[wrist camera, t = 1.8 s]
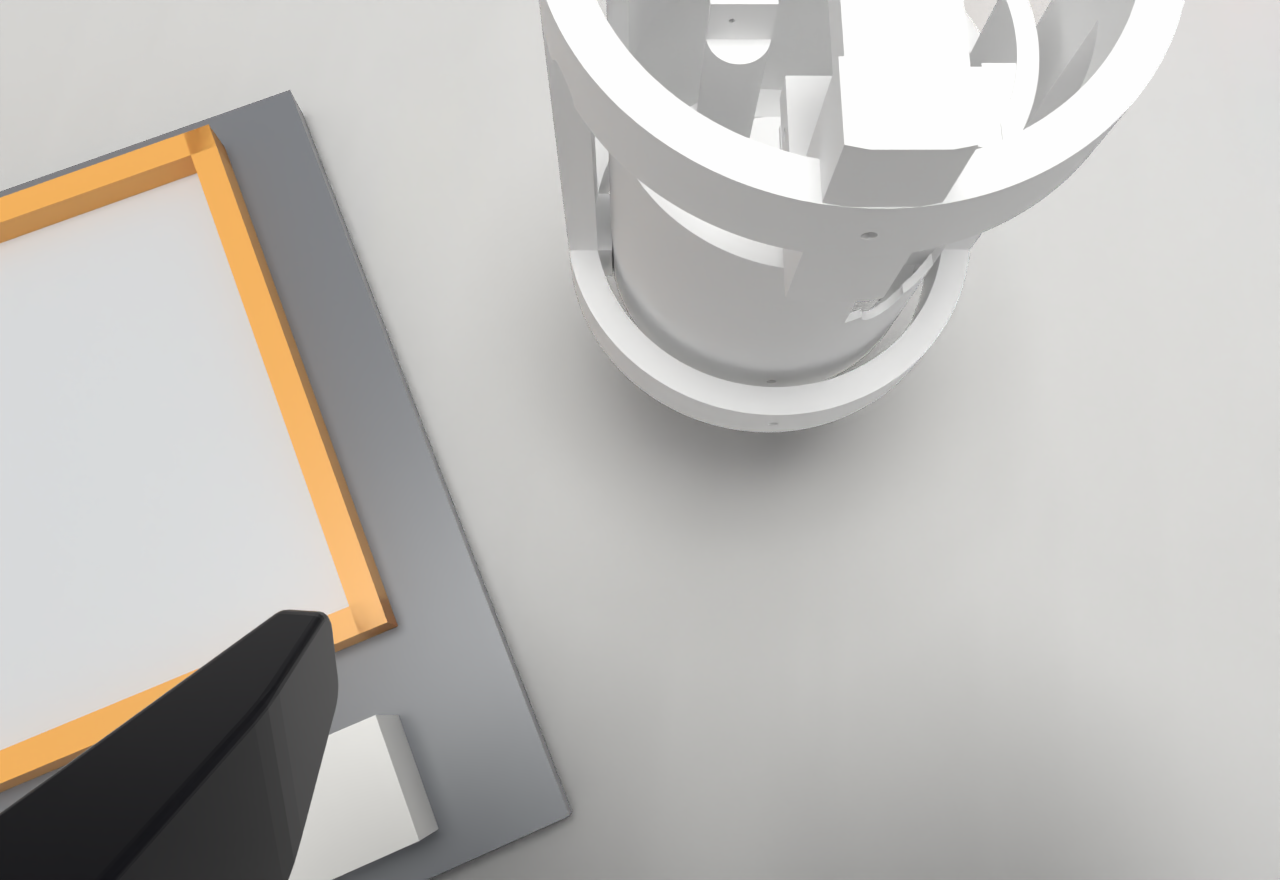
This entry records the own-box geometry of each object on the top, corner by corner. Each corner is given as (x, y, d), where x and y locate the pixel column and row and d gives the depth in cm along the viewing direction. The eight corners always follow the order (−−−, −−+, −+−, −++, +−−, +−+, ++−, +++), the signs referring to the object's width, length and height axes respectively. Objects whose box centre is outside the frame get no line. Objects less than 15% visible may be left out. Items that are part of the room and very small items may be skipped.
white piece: (581, 497, 23) (510, 145, 9) (583, 215, 25) (526, -459, 11) (890, 495, 24) (1315, 144, 9) (869, 215, 25) (1197, -453, 11)
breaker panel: (572, 811, 22) (563, 826, 19) (-304, 1204, 20) (-464, 1288, 17) (302, 113, 26) (261, 37, 23) (-443, 377, 24) (-591, 330, 21)
